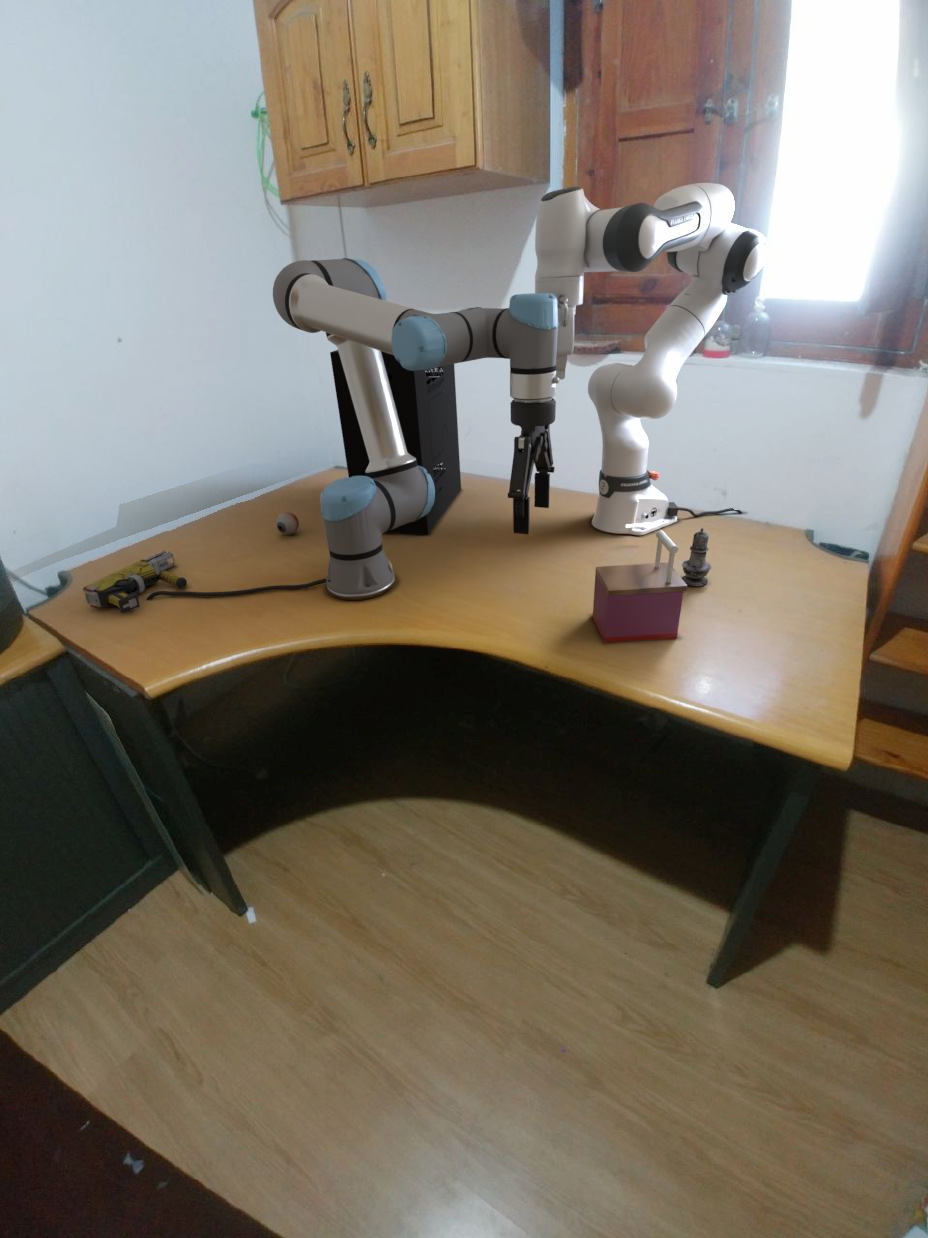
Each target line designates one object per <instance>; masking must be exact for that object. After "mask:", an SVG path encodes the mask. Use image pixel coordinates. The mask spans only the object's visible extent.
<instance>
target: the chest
mask: <svg viewBox="0 0 928 1238" xmlns="http://www.w3.org/2000/svg"><path fill="white" fill-rule="evenodd" d="M593 588H594V590H593V604H592V605H593V606H592V619H593V621H594V623H595V625H596V627H597V629H598V631H599V634H600V636H601V638H602V640H603V643H620V642H623V643H624V642H636V641H652V640H668V639H669V640H670V639H677V638H678V632H679V631H678V630H679V624H680V618H681V612H682V611H681V610H682V606H683V599H684V591H683V592H668V593H652V594H636V595H620V596H608V594H607V593H606V591H605V589H604V587H603V585H602V583H601V581H600V579H599V578H598V576H597V574H596V572H595V575H594V587H593Z"/></svg>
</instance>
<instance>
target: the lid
mask: <svg viewBox="0 0 928 1238" xmlns="http://www.w3.org/2000/svg"><path fill="white" fill-rule="evenodd" d="M655 536H656V537H655V538H657V544H656V553H655V562H652V563H636V564H620V565H606V566H605V565H604V566H595V573H596V574H597V576H598V578H599V579H600V581H601V583H602V585H603V587H604V589H605V591H606V593H607V594H608V596H620V595H636V594H652V593H668V592H683V593H684V592H687V591H688V588H689V587H688V586H689V585H687V584H686V583H685V582H684V581H683V579H682V576H681V575H680V574H679V573H678V572H677V570H676V569H675V568H674V563H675V556H676V554H677V553H678V551H679V548H678V546H677V544H676V543H674V541H672V539H671V538H670V537H669V536H668V534H667V533H666V532H665V531H664V530H662V529H658V530H657V531H656V533H655ZM663 546H664V548H665V549H666V550H667V551H668V552H669V556H668V561H667V562H661V557H662V549H663Z"/></svg>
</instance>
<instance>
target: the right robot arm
mask: <svg viewBox="0 0 928 1238" xmlns="http://www.w3.org/2000/svg"><path fill="white" fill-rule="evenodd" d="M734 212H735V200H734V195H733V194H732V192H731V190H730V189H729V188H728V187H727V186H725V185H724V184H721V183H716V182H715V183H714V182H697V183H690V184H685V185H682V186H678V187H676V188H673V189H671V190H669V191H667V192H665V193H663V194H662V195H661V196H659V197H658V198H657V199H656V200H655V202H654V204H653V205H651V204H649V203H647V202H646V203H645V202H638V203H635V204H634V203H633V204H629V205H626V206H621V207H615V208H614V207H613V208H606V209H601V208H599V207H597V206H595V205H594V204H592V202H590V201H589V200H588V198H587V197H586V196H585V191H584V188H583V187H580V186H569V187H565V188H561V189H556V190H552V191H549V192H547V193H545V194H544V195H543V196H542V197H541V198H540V200H539V203H538V207H537V211H536V220H535V236H534V250H535V251H534V252H535V255H536V261H537V263H536V264H537V266H536V270H535V275H534V293H552V294H554V295H555V296H556V298H557V308H558V322H559V326H558V336H557V352H556V377H558V378H559V380H565V378H566V368H567V362H568V356H571V355H572V354H573V353H574V348H575V315H576V314H577V313H576V312H577V311H576V309H577V306H581V305H583V304H584V290H585V289H584V287H585V286H584V284H585V273H604V272H605V273H606V272H625V273H627V272H628V273H638V272H641V271H644V269H646V268H647V267H649V266H650V265H651V264H652V263H653V262H654V261H655V260H656V259H657V258H658V257H659V255H661V254H662V253H664V252H666V260H667V263H668V264H669V266H671V267H672V268H673V269H675V270H676V271H678V272H679V273H685V274H687V275H689V276H692V277H691V279H690V282H689V284H688V285H687V286H686V287H685V288H684V289H683V290H682V291H681V292H679V294H678V295H677V296H676V297H675V298H674V299H673V300H672V301H671V302H670V303H669V305H668V306H667V307H666V308H665V310H664V311H663V312H662V313H661V315H660V316H659V317H658V318H657V319H656V321H655V323H653V325H652V326H651V327H650V329H649V330H648V331H647V332H646V334H645V336H644V340H643V343H644V349H645V351H644V353H643V355H642V357H641V359H640V360H639V361H638V362H637V363H636V364H634V365H633V364H625V363H620V362H615V363H607V364H604V365H601V366H599V367H597V368H596V369H594V371H593V372H592V374H591V375H590V376H589V380H588V384H587V393H588V396H589V398H590V401H591V402H592V403H593V405H594V407H595V410H596V414H597V417H598V421H599V426H600V432H601V440H602V447H601V448H602V449H601V450H602V451H601V468H600V470H599V474H598V492H599V493H598V498H597V502H596V507H595V511H594V514H593V517H592V520H591V525H592V526H593V527H594V528H595V529H597V530H599V531H601V532H605V533H611V534H623V535H625V534H626V535H632V536H633V535H634V536H645V535H646V534H650V533H652V532H654V531H658V530H661V529H662V528H665V527H668V526H670V525H672V524H675V523H677V522H678V513H679V511H681V512H682V511H683V512H688V513H690V514H691V516H693V517H695V518H697V517H702V516H704V515H718V514H724V513H728V512H736V513H738V514H740V515H741V514H744V512H743V511H742V510H740V509H739V510H734V509H733V508H734V507H729V508H724V509H721V510H710V511H709V510H708V511H702V512H699V513H696V512H694V510H692V509H690V508H687V507H678V505H677V504H676V503H675V502H674V501H669V498H668V497H667V496H666V495H665V494H664V493H663V492H661V491H660V490H659V489H658V488H656V487H655V486H654V485H652V483H651V480H653V481H658V479H659V478H660V473H659V472H657V471H654V470H651V471H649V470H648V469H647V466H648V458H649V457H648V455H649V446H650V441H649V437H648V435H647V434H646V432H645V431H644V428H643V426H642V423H641V420H658V419H661V418H664V417H666V416H667V415H669V413H670V412H671V411H672V410H673V408H674V406H675V404H676V401H677V398H678V385H677V378H678V376H679V375H678V374H679V373H680V371H681V368H682V367H683V365H684V364H685V362H686V361H687V359H688V358H689V357H690V355H691V354H692V353H693V352H694V351H695V349H696V348H697V347H698V346H699V344H700V343H701V342H702V341H703V339H704V338H705V337H706V335H707V334H708V333H709V332H710V330H711V329H712V328H713V326H714V325H715V323H716V322H717V320H718V319H719V317H720V315H721V313H722V311H723V310H724V308H725V306H726V304H727V301H728V296H732V295H735V294H737V293H738V292H739V291H740V290H741V289H742V288H745V287H746V286H747V285H749V284H750V283H751V282H752V281H753V280H755V278H756V277H757V276H758V275H759V273H760V272H761V270H762V268H763V267H764V265H765V262H766V259H767V256H768V241H767V237H765V236H764V234H762V233H761V232H760V231H759V232H758V230H755V229H753V228H746V227H744V226H740V225H738V224H736V223H732V222H731V221H732V219H733V215H734Z"/></svg>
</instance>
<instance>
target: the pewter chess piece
mask: <svg viewBox="0 0 928 1238" xmlns="http://www.w3.org/2000/svg"><path fill="white" fill-rule="evenodd" d="M708 543H709V534H708V533H707V532H706V531H705V529H704V527H701V528H700V530H699V531H697V532H695V533H694V534H693V539H692V545H691V546H690V547H689V549H690V556H689V558H688V559H685V560H684V561H683V562H682V563H681V566H682V570H683V573H684V575H683V576H681V578H682V579H683V581H684V582H685V583H686V584H687V586H692V587H702V586H705V585H707V584H708V579H707V578H706V576H707V575H708V574H709V572H710V571H711V569H712V565H711V563H709V561H706V558H707V552H709V548H708Z"/></svg>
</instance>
